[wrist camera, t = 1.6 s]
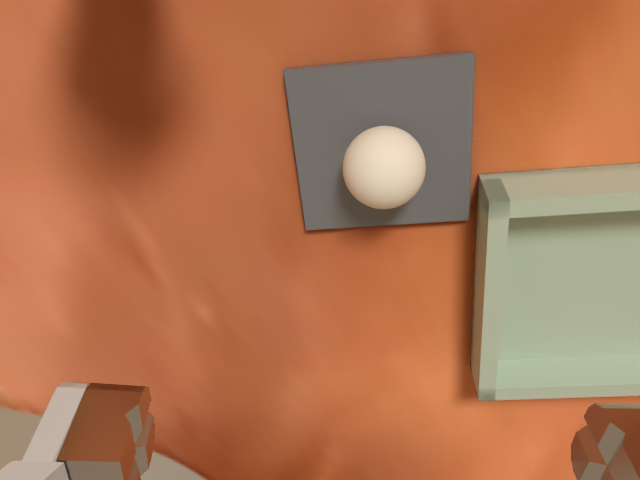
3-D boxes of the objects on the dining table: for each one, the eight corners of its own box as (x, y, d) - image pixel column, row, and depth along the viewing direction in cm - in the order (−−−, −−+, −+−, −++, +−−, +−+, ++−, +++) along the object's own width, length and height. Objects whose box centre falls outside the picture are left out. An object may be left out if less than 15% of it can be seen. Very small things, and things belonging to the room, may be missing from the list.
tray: (804, 151, 29) (846, 178, 27) (729, 355, 37) (756, 391, 34) (478, 174, 31) (489, 201, 29) (470, 365, 39) (478, 400, 36)
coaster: (473, 51, 28) (475, 54, 27) (467, 215, 32) (469, 220, 32) (284, 68, 29) (283, 71, 28) (306, 225, 33) (305, 230, 33)
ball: (421, 110, 29) (429, 143, 25) (422, 182, 31) (430, 221, 28) (340, 116, 29) (337, 150, 26) (346, 187, 31) (345, 227, 28)
